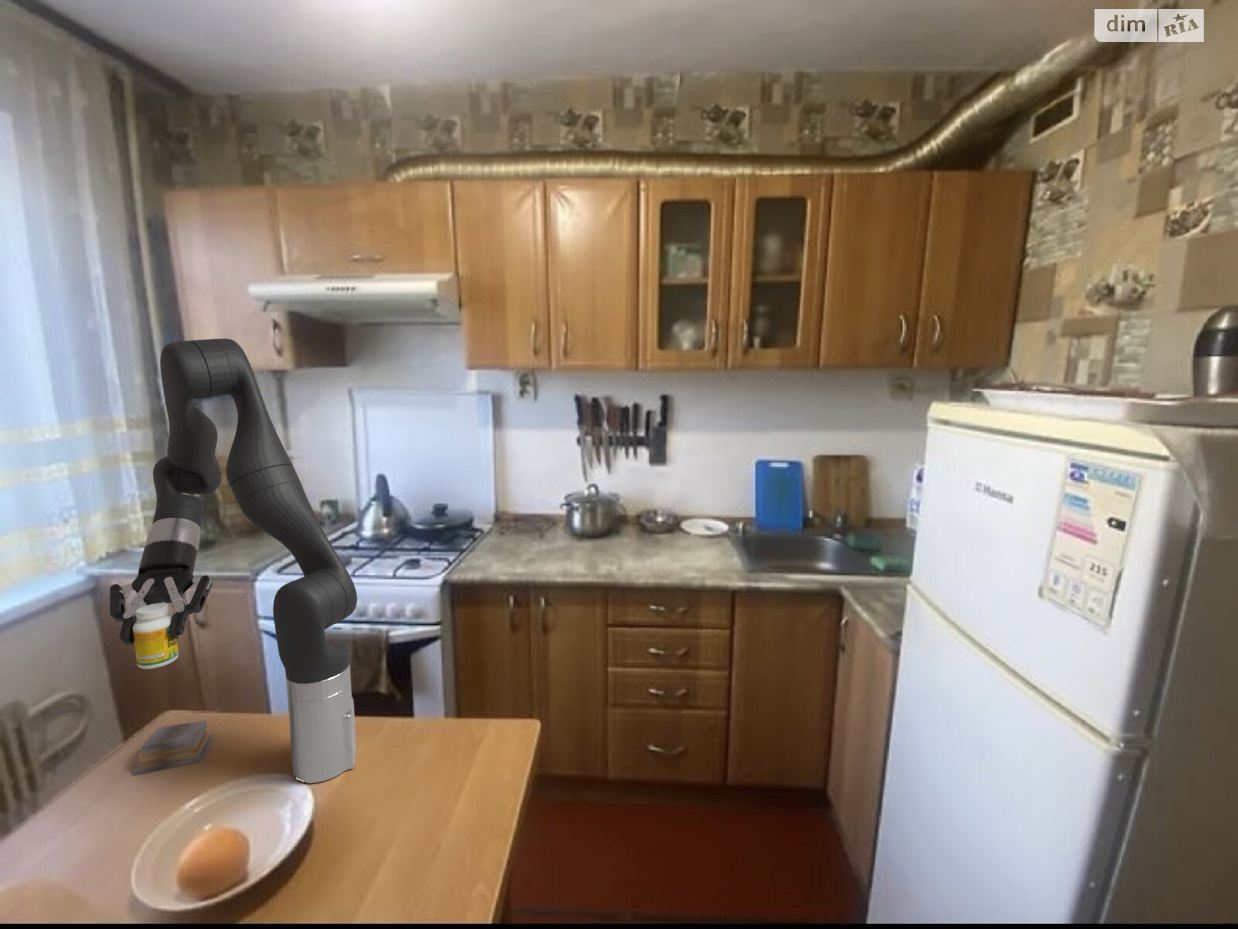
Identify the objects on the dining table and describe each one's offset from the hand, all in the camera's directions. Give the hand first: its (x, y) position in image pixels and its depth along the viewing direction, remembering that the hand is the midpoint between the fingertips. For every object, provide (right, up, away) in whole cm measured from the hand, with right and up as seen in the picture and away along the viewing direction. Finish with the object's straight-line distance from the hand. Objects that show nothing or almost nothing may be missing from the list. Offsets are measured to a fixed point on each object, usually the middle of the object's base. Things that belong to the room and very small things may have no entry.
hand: (151, 639), depth 87 cm
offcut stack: (0, -22, +5) cm, 22 cm away
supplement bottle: (-1, -5, +2) cm, 5 cm away
